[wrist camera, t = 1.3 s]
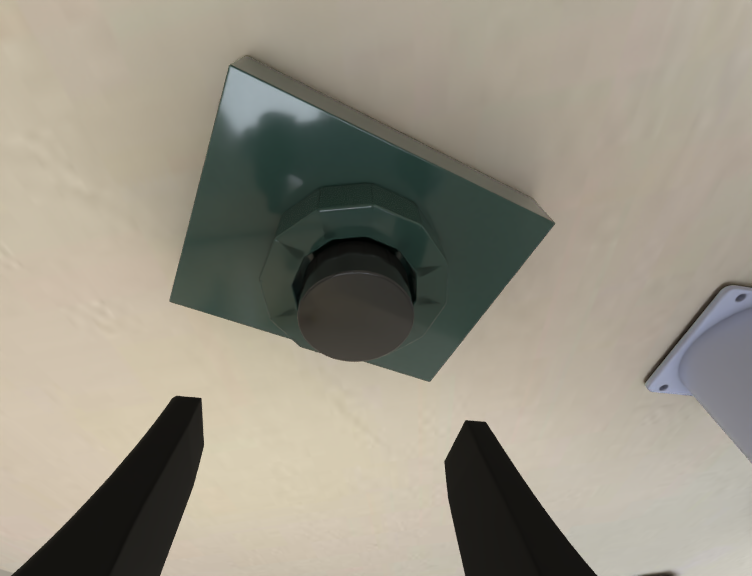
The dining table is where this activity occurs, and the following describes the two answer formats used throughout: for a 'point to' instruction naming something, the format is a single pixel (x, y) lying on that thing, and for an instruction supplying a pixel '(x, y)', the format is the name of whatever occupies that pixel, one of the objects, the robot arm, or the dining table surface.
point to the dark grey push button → (355, 302)
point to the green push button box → (343, 216)
